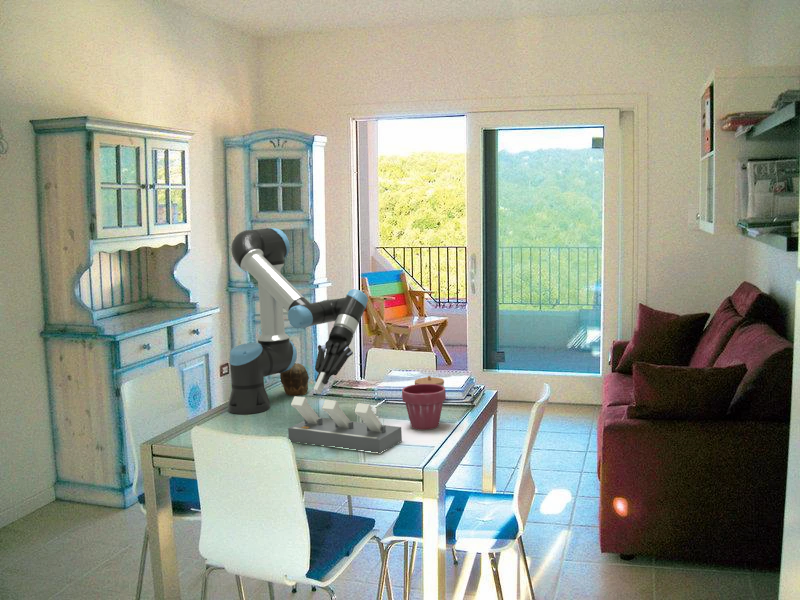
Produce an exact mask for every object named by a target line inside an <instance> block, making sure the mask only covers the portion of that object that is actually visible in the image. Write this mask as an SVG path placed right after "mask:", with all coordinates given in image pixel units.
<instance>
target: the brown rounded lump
mask: <svg viewBox="0 0 800 600" xmlns="http://www.w3.org/2000/svg"><path fill="white" fill-rule="evenodd" d="M279 378H280V383H281V384H282V386H283V391H284V393H285V395H287V396H291V397H294V396H297V397H300V396H304V395H306V394H307V393H308V389H309V378H310V377H309V373H308V370H307V369H306V367H305V366H304V365H303V364H301V363H296V362H295V364H294V366H293V367H292V368H291V369H289V370H287V371H285V372H282V373H279Z"/></svg>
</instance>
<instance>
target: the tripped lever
mask: <svg viewBox="0 0 800 600" xmlns="http://www.w3.org/2000/svg"><path fill="white" fill-rule="evenodd" d="M308 401H309V400H308V399H307V397H305V396H293V399H292V401H291V403H290V405H291V407H292V408H293V409H296V410H297V412H298V413H299V414H300V415H301V416H302V418H303V419H304V421H305V420H306V421H307V423H315V424H318V419H319V418H320V416H318V414H317V413H316V412H315V410H314V409H313V408H312V406H311V405H310V404H309V403H308Z"/></svg>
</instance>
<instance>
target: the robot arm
mask: <svg viewBox="0 0 800 600" xmlns="http://www.w3.org/2000/svg"><path fill="white" fill-rule="evenodd" d="M290 244H291V243H290V241H289V239H288V236H287V235H286V233H285V232H284V231H283V230H282V229H279V228H275V227H268V228H260V229H259V228H258V229H247V230H243V231H241V232H239V233H237V234H236V235H235V237H234V238H233V240H232V243H231V247H230V250H231V256H232V259H233V260H234V261H235V263H236V264H237V266H238V267H239V268H240V269H241V270H242V271H244V272H248V273H249V274H250V275H251V276H252V277H253V279H255V280H256V282H257V284H258V285H257V286H258V300H259V313H260V315H259V316H260V328H261V335H260V336H258V338H257V342H248V343H242V344H238V345H236V346H234V347H233V348H231V350H230V351H229V367H230V381H231V391H230V395H229V398H228V404H227V411H228V412H229V413H232V414H237V415H250V414H257V413H258V414H259V413H262V412H265V411H267V410H269V409H271V401H270V398H269V395H268V393H267V390H266V388H265V379H264V378H265V377H269V376H272V375H276V374H280V373H282V372H285V371H287V370H289V369H291V368H292V367H293V366H294V364H295V363H296V361H297V358H298V357H297V356H298V353H297V352H298V351H297V347H296V346H295V344H294V343H293V341H292V340H290V336H289V335H288V334H287V333H286V331H285V330H286V329H285V328H286V327H285V317H284V316H285V315H284V310H285V311H286V312H287V320H288V322H289V324H290V325H291V327H293V328H295V329H302V328H303V329H305V328H309V327H312V326H316V325H321V324H327V323H331V322H334V324H333V327H332V328H331V331H330V333H329V334H328V335H329V336H328V340H327V341H325V343H324V344H323V345H320V344H318V345H317V350H318V353H317V357H316V362H315V366H314V370H315V372H317V376H316V378H315V384H314V387H313V391H314V392H315V393H316V394H318V395H321V394H322V393H323V390H324V388H325V386H326V385H327V384H328V383H329V380H330V378H331V377H332V376H337V375H338V374H339V372H340V371H341V370H342V368H343V367H344V365H345V363H346V362H347V360H348V359H349V358H350V357H351V356H352V355H353V354H354V352H353V351H352V349H351V348H350V345H351V343H352V342H353V341H352V340H353V339H354V335H355V333H356V332H357V328H358V326H359V324H360V321H361V319H362V317H363V315H364V311H365V310H366V308H367V305H368V303H369V297H368V296H367V294H366V293H364V291H362V290H359V289H356V288H354V289H350V290H348V292H347V294H346V296H345V297H342V298H333V299H325V300H321V301H317V302H310V301H308V299H306V298H305V296H303V294H302V293H300V292H299V291H298V289H297V288H295V287H294V286H293V284H291V282H290V281H289V280H288V279H286V277H284V276H283V275H282V273H281V271H282V270H281V269H282V268H283V267H284V265H285V258H286V257H288V255H289V253H290V249H291V246H290Z"/></svg>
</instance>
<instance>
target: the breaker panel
mask: <svg viewBox="0 0 800 600" xmlns="http://www.w3.org/2000/svg"><path fill="white" fill-rule="evenodd" d="M287 431H288V433H287V434H288V440H289V439H290V440H291V441H292V442H291V443H293V442H300V443H307V444H306V445H308V444H315V445H324V446H335V447H343V448H349V449H356V450H364V451H371V452H378V453H381V452H382V451H384V450H386V449H388V448H390V447H391V446H393V445H394V446H396V445H398V444H399V443H401V442H402V441H403V436H402V433H403V432H402V426H395V425H389V424H388V425H387V424H382V431H372V430H369V428H368V427H367V426H366V424H365V423H364V422H361V421H351V420H350V422H349V427H339V426H337V424H336V423H335V422H334V420H333V419H332V418H327V417H319V419H318V424H315V423H307V421H306V420H305V419H304V420H302V421H301V422H298V423H296V424H294V425H292V426H290V427H287ZM400 441H401V442H400ZM398 442H399V443H398ZM300 443H299V444H300ZM397 443H398V444H397ZM395 444H396V445H395ZM315 445H314V446H315ZM394 446H393V447H394ZM391 448H392V447H391ZM391 448H390V449H391ZM388 450H389V449H388ZM386 451H387V450H386ZM381 454H382V453H381Z"/></svg>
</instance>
